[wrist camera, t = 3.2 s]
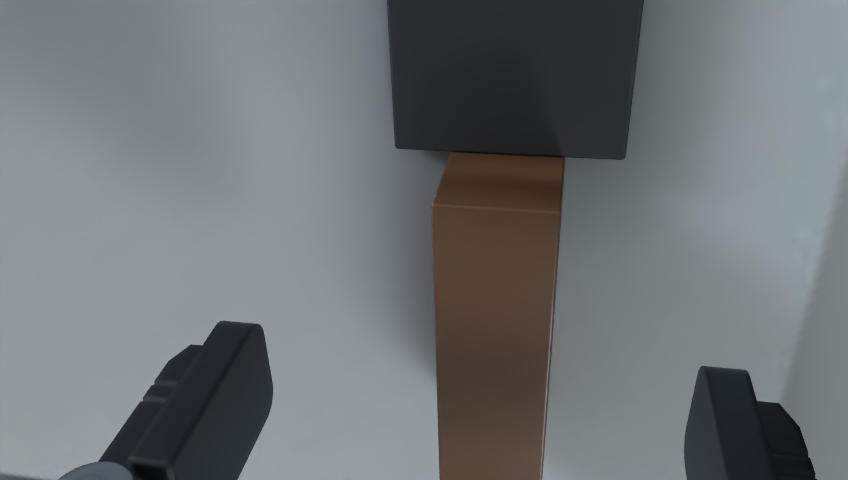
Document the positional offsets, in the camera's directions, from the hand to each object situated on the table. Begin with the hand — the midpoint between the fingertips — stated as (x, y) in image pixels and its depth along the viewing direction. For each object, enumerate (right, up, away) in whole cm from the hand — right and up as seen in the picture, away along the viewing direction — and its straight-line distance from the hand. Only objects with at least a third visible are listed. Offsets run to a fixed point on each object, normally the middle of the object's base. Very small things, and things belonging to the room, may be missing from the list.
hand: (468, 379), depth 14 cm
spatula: (+1, +4, +1) cm, 4 cm away
